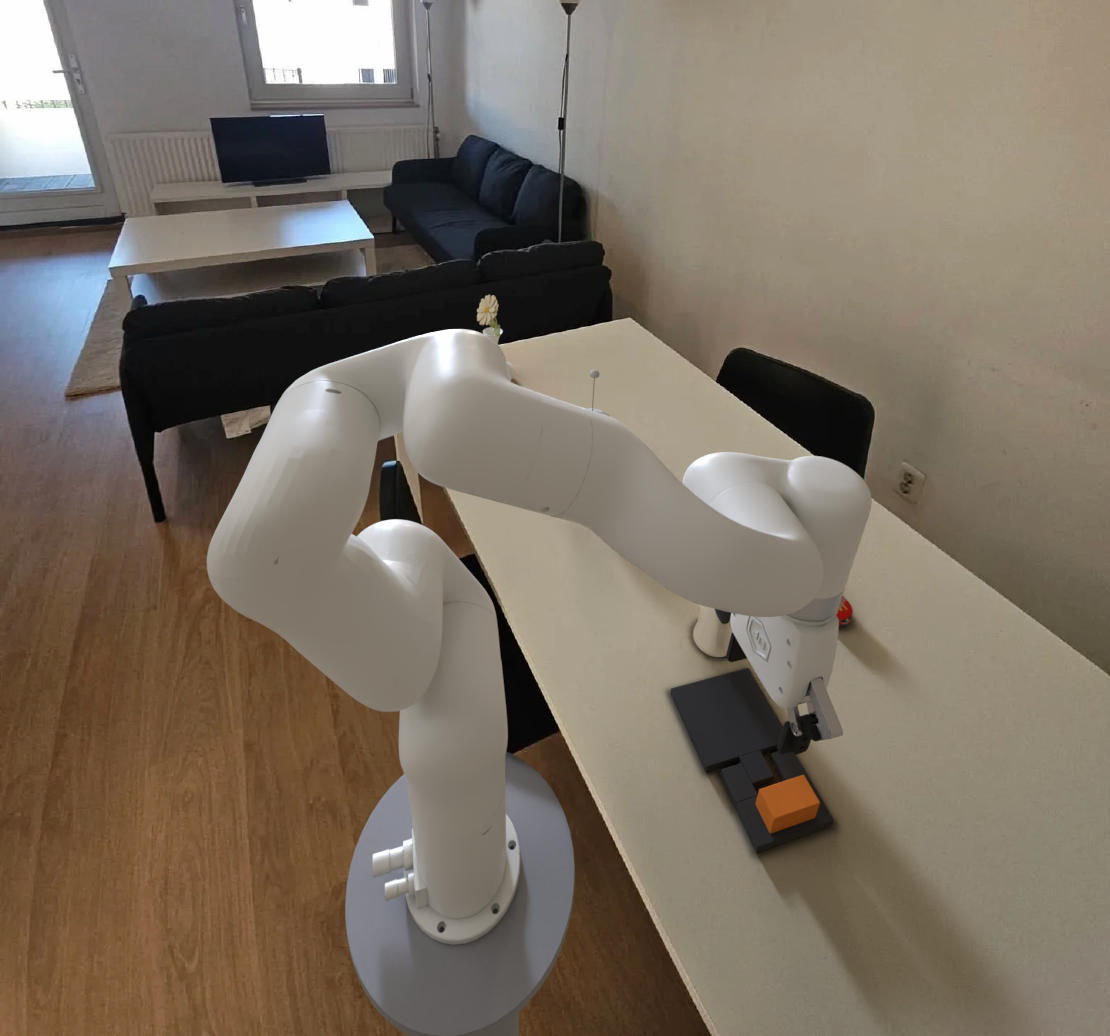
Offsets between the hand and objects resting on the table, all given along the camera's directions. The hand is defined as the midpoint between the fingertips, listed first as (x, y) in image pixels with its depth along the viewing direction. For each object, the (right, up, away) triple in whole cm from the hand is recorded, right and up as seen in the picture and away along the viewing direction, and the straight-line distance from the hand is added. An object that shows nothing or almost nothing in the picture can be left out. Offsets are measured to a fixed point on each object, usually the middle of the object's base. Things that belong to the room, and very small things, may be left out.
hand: (763, 699), depth 64 cm
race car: (+20, -7, +35) cm, 41 cm away
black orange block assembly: (+4, -18, +8) cm, 20 cm away
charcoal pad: (+1, -14, +15) cm, 21 cm away
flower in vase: (-38, +20, +94) cm, 104 cm away
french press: (-14, +5, +60) cm, 62 cm away
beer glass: (+2, -9, +28) cm, 29 cm away
